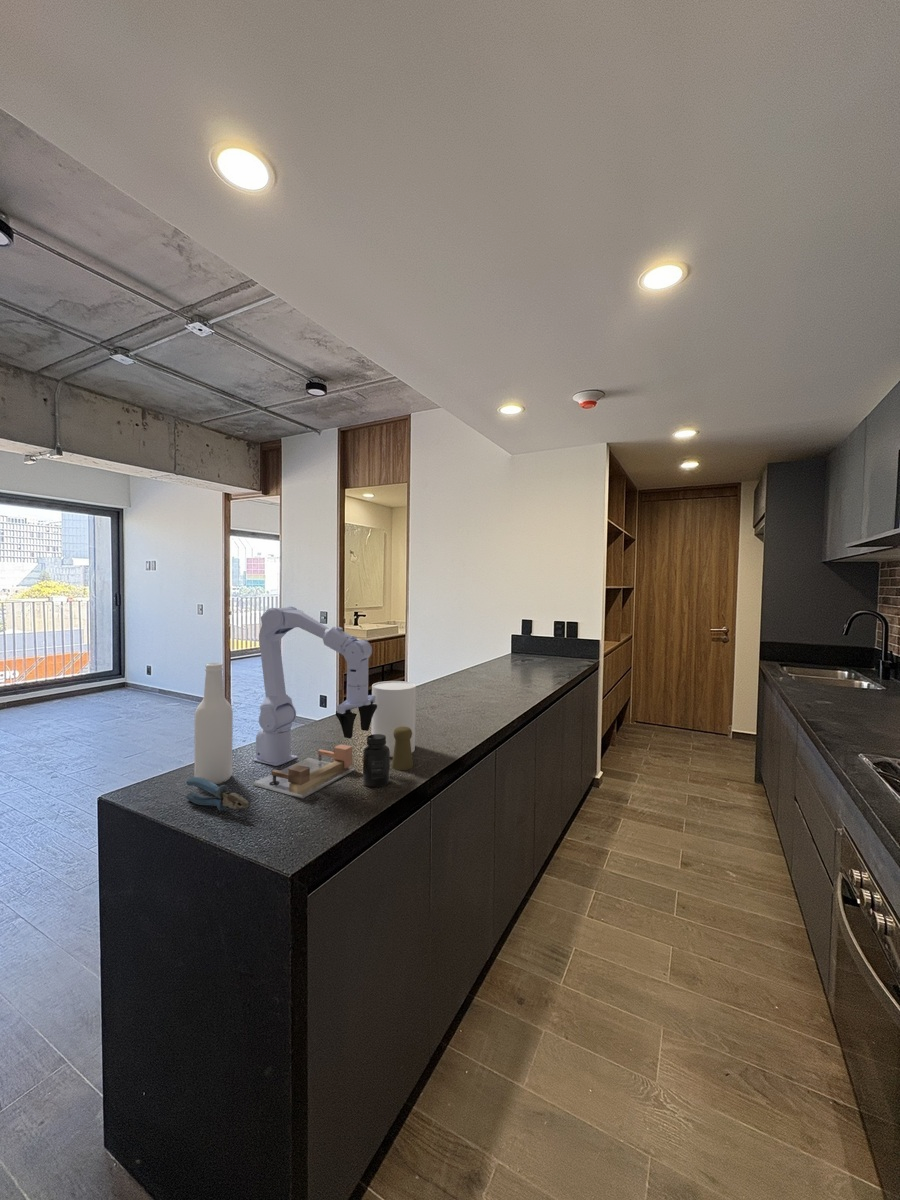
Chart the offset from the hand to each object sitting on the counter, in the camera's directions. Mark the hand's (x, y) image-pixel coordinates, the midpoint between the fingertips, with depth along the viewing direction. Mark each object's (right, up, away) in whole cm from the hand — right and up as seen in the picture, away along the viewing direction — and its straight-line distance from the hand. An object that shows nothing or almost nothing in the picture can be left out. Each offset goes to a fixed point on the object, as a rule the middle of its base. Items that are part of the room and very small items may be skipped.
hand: (356, 733), depth 133 cm
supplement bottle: (+7, -11, -8) cm, 15 cm away
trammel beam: (-11, -9, -6) cm, 15 cm away
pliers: (-27, -11, -24) cm, 38 cm away
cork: (+12, -11, +4) cm, 17 cm away
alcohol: (-36, -10, -7) cm, 38 cm away
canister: (+8, -10, +18) cm, 22 cm away
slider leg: (-7, -9, +2) cm, 11 cm away
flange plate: (-12, -10, -5) cm, 17 cm away
